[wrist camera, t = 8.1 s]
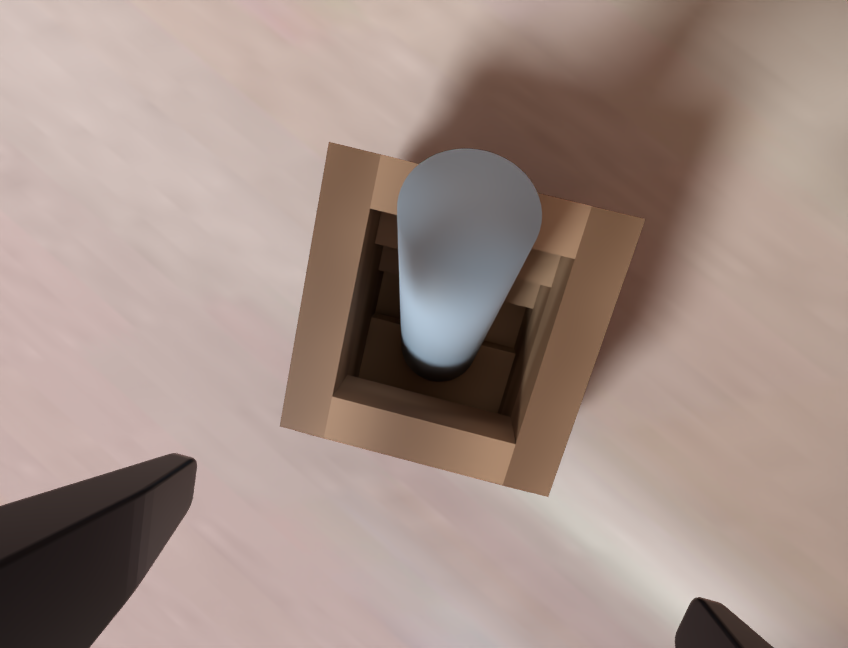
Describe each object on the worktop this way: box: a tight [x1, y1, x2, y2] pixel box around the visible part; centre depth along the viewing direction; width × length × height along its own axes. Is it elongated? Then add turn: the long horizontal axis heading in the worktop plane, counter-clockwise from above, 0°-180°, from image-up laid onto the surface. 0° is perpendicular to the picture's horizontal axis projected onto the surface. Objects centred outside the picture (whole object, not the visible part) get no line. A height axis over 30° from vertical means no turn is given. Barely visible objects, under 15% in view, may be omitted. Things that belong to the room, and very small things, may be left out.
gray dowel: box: [397, 148, 542, 382], centre depth 15 cm, size 3×3×10 cm
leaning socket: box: [280, 142, 645, 497], centre depth 18 cm, size 9×11×6 cm
